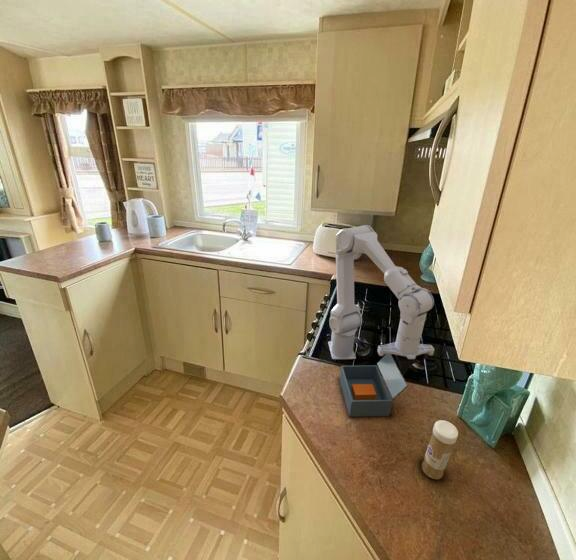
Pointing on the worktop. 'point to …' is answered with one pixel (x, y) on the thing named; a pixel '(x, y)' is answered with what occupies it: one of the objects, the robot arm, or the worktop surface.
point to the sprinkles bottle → (439, 449)
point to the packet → (363, 392)
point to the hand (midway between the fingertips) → (400, 374)
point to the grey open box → (365, 376)
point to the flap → (392, 375)
